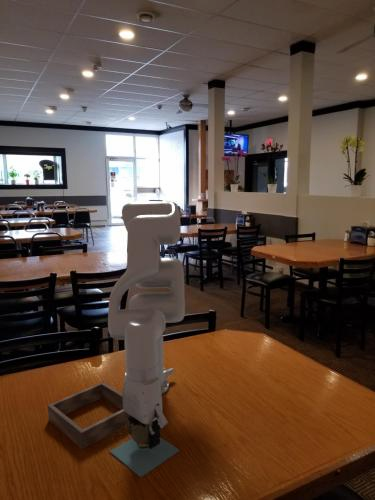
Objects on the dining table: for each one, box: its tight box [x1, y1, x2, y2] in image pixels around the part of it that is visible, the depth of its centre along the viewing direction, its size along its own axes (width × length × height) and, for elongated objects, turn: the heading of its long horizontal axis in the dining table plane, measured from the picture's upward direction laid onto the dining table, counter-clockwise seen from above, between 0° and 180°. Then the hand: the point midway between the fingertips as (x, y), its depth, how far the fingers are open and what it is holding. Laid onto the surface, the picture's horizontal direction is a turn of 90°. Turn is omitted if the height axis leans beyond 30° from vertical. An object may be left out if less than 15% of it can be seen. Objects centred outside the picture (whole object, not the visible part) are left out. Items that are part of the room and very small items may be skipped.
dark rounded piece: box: [128, 415, 156, 449], centre depth 93 cm, size 8×7×8 cm
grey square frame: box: [47, 381, 129, 450], centre depth 107 cm, size 18×18×4 cm
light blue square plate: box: [109, 437, 180, 478], centre depth 94 cm, size 12×12×1 cm
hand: (144, 438), depth 94 cm, fingers closed on dark rounded piece, 6 cm apart
